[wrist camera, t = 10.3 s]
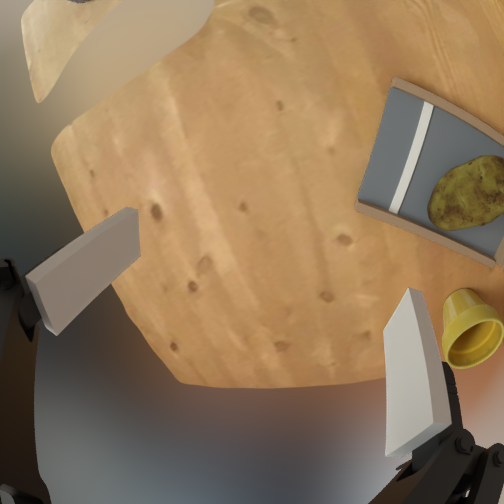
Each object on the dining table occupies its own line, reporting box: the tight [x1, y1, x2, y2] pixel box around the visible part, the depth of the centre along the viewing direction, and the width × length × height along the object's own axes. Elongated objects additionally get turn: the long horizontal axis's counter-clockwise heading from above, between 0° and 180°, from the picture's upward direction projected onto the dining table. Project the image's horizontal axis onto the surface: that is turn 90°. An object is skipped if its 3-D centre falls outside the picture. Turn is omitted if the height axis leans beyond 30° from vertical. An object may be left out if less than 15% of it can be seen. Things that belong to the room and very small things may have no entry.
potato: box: [427, 155, 504, 231], centre depth 24 cm, size 8×13×8 cm, turn 115°
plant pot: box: [442, 288, 504, 369], centre depth 32 cm, size 10×10×10 cm
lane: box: [354, 77, 504, 269], centre depth 27 cm, size 17×26×4 cm
